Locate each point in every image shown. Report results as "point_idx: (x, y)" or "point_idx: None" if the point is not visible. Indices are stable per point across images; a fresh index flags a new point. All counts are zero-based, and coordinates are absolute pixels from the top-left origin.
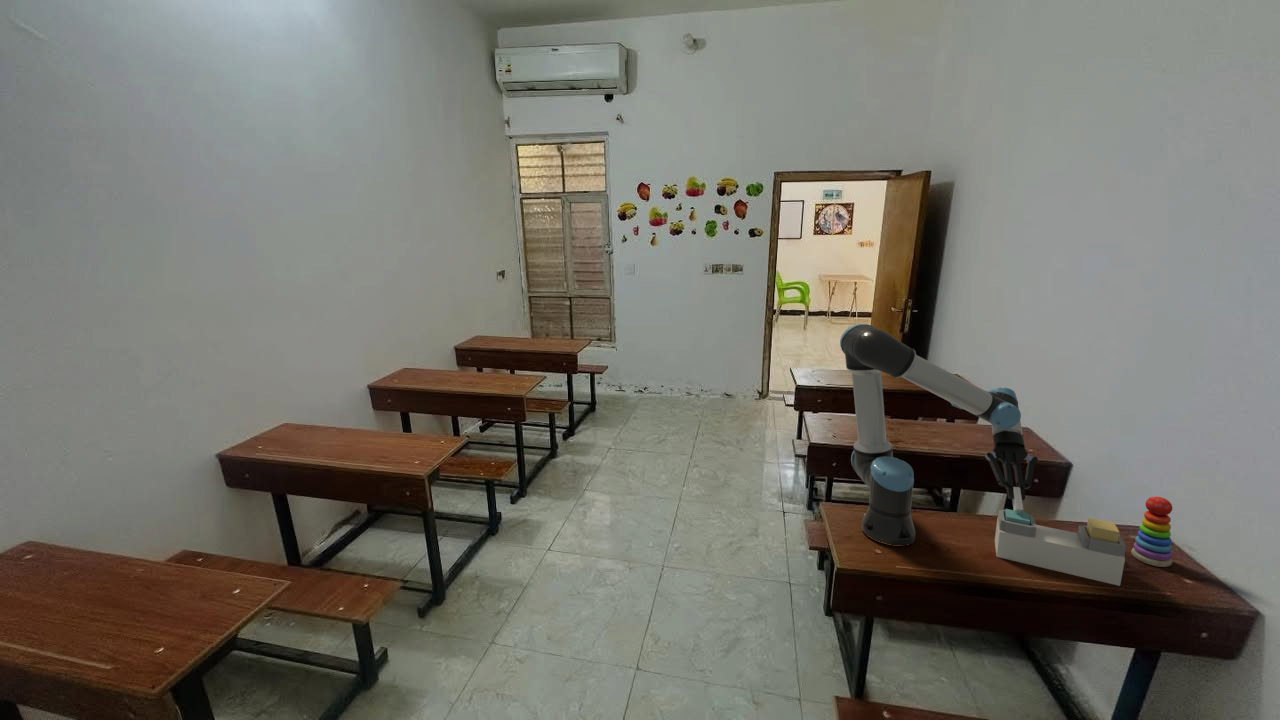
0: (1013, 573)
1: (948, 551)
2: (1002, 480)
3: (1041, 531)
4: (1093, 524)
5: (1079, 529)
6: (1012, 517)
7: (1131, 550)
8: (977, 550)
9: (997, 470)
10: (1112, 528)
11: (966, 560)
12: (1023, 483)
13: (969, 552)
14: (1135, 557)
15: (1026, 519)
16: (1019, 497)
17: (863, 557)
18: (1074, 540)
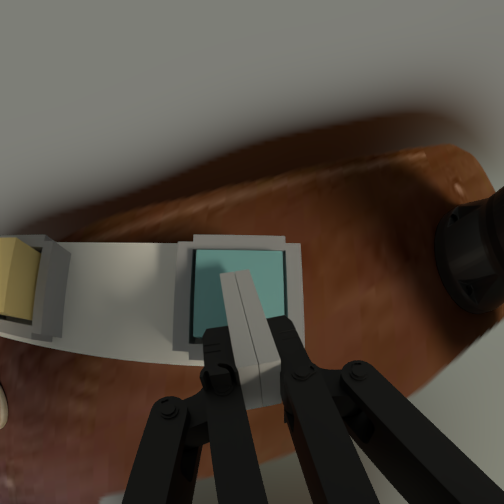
0: (243, 212)
1: (375, 243)
2: (365, 377)
3: (156, 315)
4: (7, 258)
5: (48, 322)
6: (261, 253)
7: (5, 415)
8: (319, 283)
9: (431, 434)
10: None
11: (338, 221)
12: (209, 407)
13: (336, 262)
14: (4, 395)
15: (208, 262)
16: (237, 313)
17: (461, 163)
18: (77, 291)
